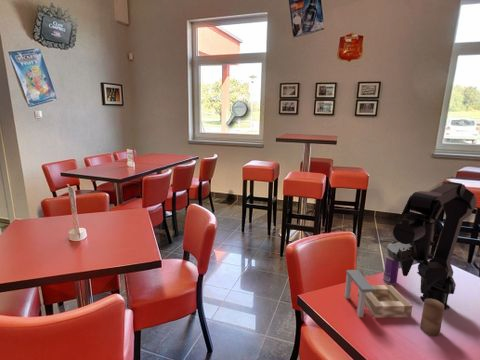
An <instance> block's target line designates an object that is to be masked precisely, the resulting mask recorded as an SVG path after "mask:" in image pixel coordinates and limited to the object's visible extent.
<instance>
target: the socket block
mask: <svg viewBox="0 0 480 360" xmlns="http://www.w3.org/2000/svg"><path fill="white" fill-rule="evenodd" d="M370 285H371V286H372V287H373V288H374V289H375V291H374V292H366V296H365V305H364V307H366V309H367V310H368V311H369V312H370V314H371V315H372V317H373V318H374V319H375V318H377V319H380V318H381V319H386V318H411V317H412V312H413V305H412V304H411V303H410V301H408V300H407V299H406V298H405V297H404V296H403V295H402V294H401V293H400V292H399V291H398V290H397V289H396V288H395V287H394V286H393V285H390V284H377V285H376V284H375V285H372V284H370ZM359 290H360V289H359V288H358V287H357V298H359Z"/></svg>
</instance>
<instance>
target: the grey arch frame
mask: <svg viewBox="0 0 480 360" xmlns="http://www.w3.org/2000/svg"><path fill="white" fill-rule="evenodd" d="M345 273H346V277H345V288H344V297H345V299H348V300H349V299H351V291H352V282H353V283H354V284H355V286H356V287H357V289H358V288H359V289H360V290H359V297H358V301H357V309H356V316H357V317H358V318H364V312H365V296H366V292H374V291H375V289H374V288H373V287H372V286H371V285H372V284H371V283H370V282H369V281H368V280H367V279H366V278H365V276H363V274H361V272H360V271H359V270H358V269H346V271H345Z"/></svg>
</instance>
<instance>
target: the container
mask: <svg viewBox="0 0 480 360" xmlns="http://www.w3.org/2000/svg"><path fill="white" fill-rule="evenodd" d="M392 243H393V242H392ZM392 243H388V244H387V246H388V245H391V244H392ZM384 262H385V263H384V269H383V278H382V280H383V282H384V283H385V284H386V285H392V286H393V285H396V284H397V281H398V274H399V268H400V262H396V261H394V260H393V259H392V258H391V257H390V256H389V254H388V250H387V249H386V256H385V261H384Z"/></svg>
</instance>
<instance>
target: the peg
mask: <svg viewBox="0 0 480 360" xmlns="http://www.w3.org/2000/svg"><path fill="white" fill-rule="evenodd" d="M444 307H445V306H444V304H443V303H441V302H440V301H438V300H435V299H430V298H427V299H425V300H424V301H423V305H422V312H421V319H420V323H419V328H420V330H421V332H422V333H424V334H426V335H428V336H430V337H431V336H432V337H438V336H440V334H441V331H442V330H441V329H442V324H443V318H444V313H445V312H444V311H445V309H444Z"/></svg>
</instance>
